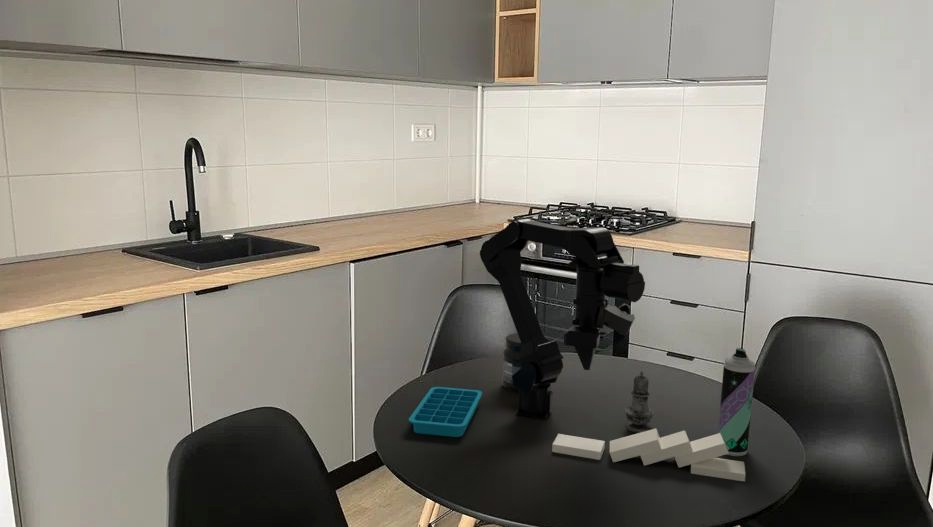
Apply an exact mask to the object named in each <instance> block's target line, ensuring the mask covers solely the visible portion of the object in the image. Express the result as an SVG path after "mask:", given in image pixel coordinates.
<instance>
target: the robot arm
mask: <svg viewBox="0 0 933 527" xmlns="http://www.w3.org/2000/svg"><path fill="white" fill-rule="evenodd" d="M528 242H533V243H539V244H543V245H547V246H551V247H556V248H560V249H563V250H565V251H566V253H568V254H569V255H570V256H573V257H574V258H573V260H571V261H570V262H568V263H567V267H568V268H571V269H576V280H575V282H576V283H575V285H576V286H575V297H574V298H573V301H572V302H573V305H575V306H574V317H573V319H572V324H571V325H573V326H571V327H569V328H568V330H567V331H566V332H565V333H564V334H563V345H565V346H569V347H574V348H575V351H576V353H577V355H578V358H579V361H580V363H581V365H582V368H583V370H585V371H590V370H591V368H592V367H591V366H592V363H593V360H594V356H595V353H596V350H597V348H598V346H599V345H600V344H601V343H602V342H603V340H604V338H606V335H607V332H604V331H601V330H600V329H604V327H606V328H609V329H611V330H613V331H616V332H618V334H619V335H622V336H624V337H625V336H628V334H629V332H630V329H631V327H632V325H633V323H634V321H635V318H636V317H635V314H633V313H632V309H631V308H632V307H631V305H629V304H627V303H622V304H621V305H619V307H617V306H616V305H615V306H613V305H611V304H609V301H610V300H609V298H611V299H616V300H622V301H625V302H629V303H630V302H631V303H636V302H638V301H640V300H641V299H642V297H643V295H644V292H645V288H646V287H645V286H646V281H645V279H644V275H643V274H642V272H640V265H639V264H627V263H625V260H624V259H623V257H622V255H621V253H620V252H619V250H618V247H617V246H616V244H615V242H614V238H613V235H612V233H611V231H610V230H609V229H607V228H605V227H581V228H580V227H579V228H573V227H565V226H561V225H555V224H551V223H546V222H540V221H534V220H532V219H529V218H523V219H522V218H521V219H514V220H512V221H511V222H509V223H508V224H507V225H506V226H505V228H503V229H501V230H500V231H498V232H497V233H495V234H494V235H492V236H491V237H490V238H489V239H488V240H485V241H484V242H482V245H481V248H480V250H479V257H480V260H481V262H482V264H483V266H484V267H485V269H486V271H487V273H488V274H490V275H491V276H492V277H493V278H494V279H495V280H496V281H497V282H498V284H499V286H500V289H501V292H502V295H503V298H504V300H505V302H506V306H507V308H508V311H509V314H510V316H511V318H512V322H513V324H514V327H515V330H516V333H518V336H519V338H520V341H521V352H520V362H521V366H522V368H521V369H519V370H518V371H517V372H516V373H515V374H514V375H513V376H512V380H513V384H514V386H515V387H518V388H519V393H518V403H517V405H518V406H517V410H516V411H515V415H516V416H517V415H518V416H524V417H531V418H537V419H546V418H547V417H548V415H549V414H550V413H551V412H552V411H553V400H554V392H553V391H552V390H551V389H552V387H551V386H552V384H554V383H557V380H558V377H559V376H560V375H561V373H562V370H563V369H564V363H563V359H564V356H563V355H562V353H561V351H560V349H559V344H558V343H557V340H552V341H549V340H548V339H547V338H546V336H545V335H544V334H543V331H542V328H541V326H540V323H539V321H538V318H537V315H536V313H535V310H534V308H533V304H532V302H531V299H530V297H529V294H528V291H527V289H526V286H525V283H524V281H523V279H522V275H521V271H522V270H521V268H522V263H523V260H522V254H521V252H523V250H524V249H525V248H526V247H527V245H528V244H529V243H528Z"/></svg>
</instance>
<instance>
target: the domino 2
mask: <svg viewBox="0 0 933 527" xmlns="http://www.w3.org/2000/svg"><path fill="white" fill-rule="evenodd" d="M660 438H661V437H660V435H659V432H658V429H657V428H653V429H652V430H648V431H645V432H641V433H635V434H631V435H628V436H623V437H620V438H616V439H613V440H609V455H610V457H611V460H612V463H616V462H620V461H623V460H627V459H632V458H635V457H639V456H640V455H643V454H647V453H651V452H654V451H658V450H662V449H661V442H660Z"/></svg>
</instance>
